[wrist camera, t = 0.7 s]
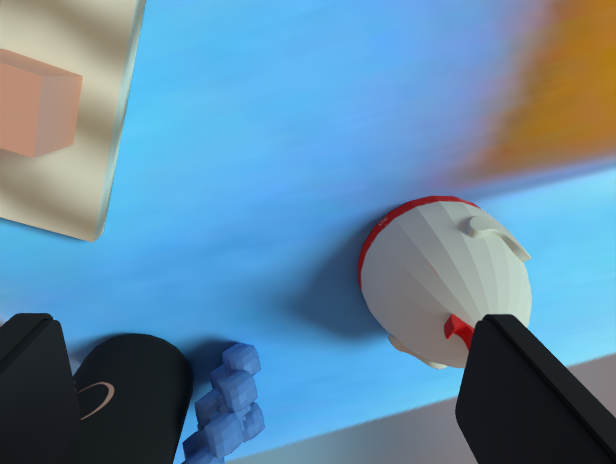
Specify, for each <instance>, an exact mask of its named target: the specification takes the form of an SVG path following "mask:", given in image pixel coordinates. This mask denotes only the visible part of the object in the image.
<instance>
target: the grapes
mask: <svg viewBox="0 0 616 464" xmlns="http://www.w3.org/2000/svg"><path fill="white" fill-rule="evenodd" d="M222 359H223V364H222V365H220V366H219V367H217V368H216V369H215V370H213V371H212V372H211V373H210V379H211V384H212V388H213V389H212V390H211V391H210V392H209V393H207V394H206V395H205V396H203V397H202V398H201V399H200V400H198V401H197V402H196V403H195V411H196V416H197V421H198V423H199V424H198V425H197V426H198V431H197V432H195V433H193V434H192V435H191V436H190V437H189V438H187V439H186V440H185V441H184V442H183V449H184V455H185V459H186V460H185V461H184V462H183V463H181V464H225V462H224V456H226V455H228V454H230V453H232V452H233V451H234V450H235V449H236V448H237V447H238V446H239V445H240V444H241V443H242V442H246V441H248V440H250V439H252V438H254V437H255V436H257V435H258V434H259V433H260V432H261V431H262V430H263V429H264V428H265V425H264V419H263V415H262V411H261V409H260V407H259V406H258V404H257V403H255V402H253V401H254V400H256V399H257V398H258V396H257V389H256V385H255V381H254V379H253V375H255V374H256V373H257V372H258V371H259V370H261V367H260V361H259V357H258V354H257V351H256V349H255V348H254V346H253V345H247V344H245V343H237V344H235V345H233V346H232V347H230V348H229V349H227V350H226V351H225V352H223V353H222Z"/></svg>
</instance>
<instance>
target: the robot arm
mask: <svg viewBox="0 0 616 464" xmlns="http://www.w3.org/2000/svg"><path fill="white" fill-rule="evenodd" d="M455 414H456V419H457V423H458V425H459V427H460V429H461V431H462V433H463V435H464V437H465V439H466V441H467V443H468V445H469V447H470V449H471V451H472V452H473V454H474V456H475V458H476V460H477V462H478V464H616V418H615V417H614V416H613V415H612V414H611V413H610V412H609V411H608V410H607V409H606V408H605V407H604V406H603V405H602V404H601V403H600V402H599V401H598V400H597V399H596V398H595V397H594V396H593V395H592V394H591V393H590V392H589V391H588V390H587V389H586V388H585V387H584V386H583V385H582V384H581V383H580V381H578V380H577V378H576V377H574V376H573V374H572V373H570V371H569V370H568V369H567V368H566V367H565V366H564V365H563V364H562V363H561V362H560V361H559V360H558V359H557V358H556V357H555V356H554V355H553V354H552V353H551V352H550V351H549V350H548V349H547V348H546V347H545V346H544V345H543V344H542V343H541V342H540V341H539V340H538V339H537V338H536V337H535V336H534V335H533V334H532V333H531V332H530V331H529V330H528V329H527V328H526V327H525V326H524V325H523V324H522V323H521V322H520V321H519V320H518V319H517V318H516V317H515V316H514V315H511V314H487V315H485V316H484V317H483V318H482V320H479V321H477V323H476V325H475V328H474V333H473V337H472V341H471V345H470V349H469V353H468V358H467V362H466V366H465V370H464V374H463V378H462V383H461V387H460V391H459V395H458V399H457V403H456V410H455ZM80 421H81V413H80V408H79V404H78V399H77V395H76V390H75V386H74V381H73V377H72V372H71V368H70V363H69V359H68V354H67V350H66V345H65V341H64V336H63V332H62V327H61V324H60V322H59V321H57V320H53V317H52V316H51V315H50V314H47V313H19V314H16V315H14V316H13V317H11V318H10V319H9V320H8V321H7V322H6V323H5V324H4V325H2V326H1V327H0V464H59V463H60V461H61V459H62V458H63V456H64V454H65V452H66V451H67V449H68V447H69V446H70V444H71V442H72V440H73V439H74V437H75V435H76V433H77V431H78V429H79V426H80Z"/></svg>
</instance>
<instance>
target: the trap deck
mask: <svg viewBox="0 0 616 464" xmlns="http://www.w3.org/2000/svg"><path fill="white" fill-rule="evenodd" d="M145 3H146V0H0V49H7V50H9V51H12V52H15V53H18V54H21V55H24V56H27V57H30V58H32V59H35V60H38V61H41V62H44V63H47V64H50V65H53V66H56V67H58V68H61V69H64V70H67V71H70V72H73V73H76V74H79V75H81V76H83V80H82V87H81V94H80V101H79V108H78V115H77V122H76V129H75V136H74V143H73V145H71V146H68V147H65V148H62V149H59V150H56V151H53V152H50V153H47V154H44V155H41V156H38V157H35V158H32V157H28V156H25V155H22V154H18V153H15V152H12V151H9V150H5V149H2V148H0V217H1V218H5V219H9V220H12V221H16V222H20V223H23V224H27V225H31V226H34V227H38V228H42V229H45V230H49V231H53V232H56V233H60V234H64V235H67V236H71V237H75V238H78V239H82V240H86V241H89V242H94V241H95V240H96V239H98V238H99V237H100V236H101V235H102V234H103V233H104V227H105V222H106V217H107V211H108V206H109V200H110V195H111V189H112V184H113V178H114V173H115V167H116V162H117V156H118V151H119V145H120V140H121V135H122V129H123V124H124V118H125V113H126V107H127V102H128V96H129V91H130V85H131V80H132V74H133V69H134V63H135V58H136V52H137V47H138V42H139V36H140V31H141V25H142V20H143V14H144V9H145Z"/></svg>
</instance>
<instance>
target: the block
mask: <svg viewBox="0 0 616 464" xmlns="http://www.w3.org/2000/svg"><path fill="white" fill-rule="evenodd" d="M82 80H83V76H81V75H79V74H76V73H73V72H70V71H67V70H64V69H61V68H58V67H56V66H53V65H50V64H47V63H44V62H41V61H38V60H35V59H32V58H30V57H27V56H24V55H21V54H18V53H15V52H12V51H9V50H7V49H0V148H2V149H5V150H9V151H12V152H15V153H18V154H22V155H25V156H28V157H32V158H35V157H38V156H41V155H44V154H47V153H50V152H53V151H56V150H59V149H62V148H65V147H68V146H71V145H73V143H74V136H75V129H76V122H77V115H78V108H79V101H80V94H81V87H82Z"/></svg>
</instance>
